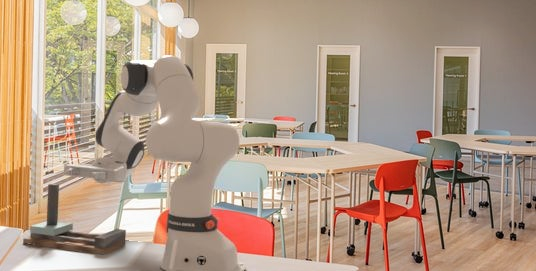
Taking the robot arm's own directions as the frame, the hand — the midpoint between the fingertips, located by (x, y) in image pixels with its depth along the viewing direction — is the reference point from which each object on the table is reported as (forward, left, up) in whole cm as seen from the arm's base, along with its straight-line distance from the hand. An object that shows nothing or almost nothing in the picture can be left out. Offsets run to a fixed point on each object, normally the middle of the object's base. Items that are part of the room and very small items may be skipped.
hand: (80, 174), depth 174 cm
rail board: (-8, +14, -19) cm, 25 cm away
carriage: (0, +14, -16) cm, 21 cm away
